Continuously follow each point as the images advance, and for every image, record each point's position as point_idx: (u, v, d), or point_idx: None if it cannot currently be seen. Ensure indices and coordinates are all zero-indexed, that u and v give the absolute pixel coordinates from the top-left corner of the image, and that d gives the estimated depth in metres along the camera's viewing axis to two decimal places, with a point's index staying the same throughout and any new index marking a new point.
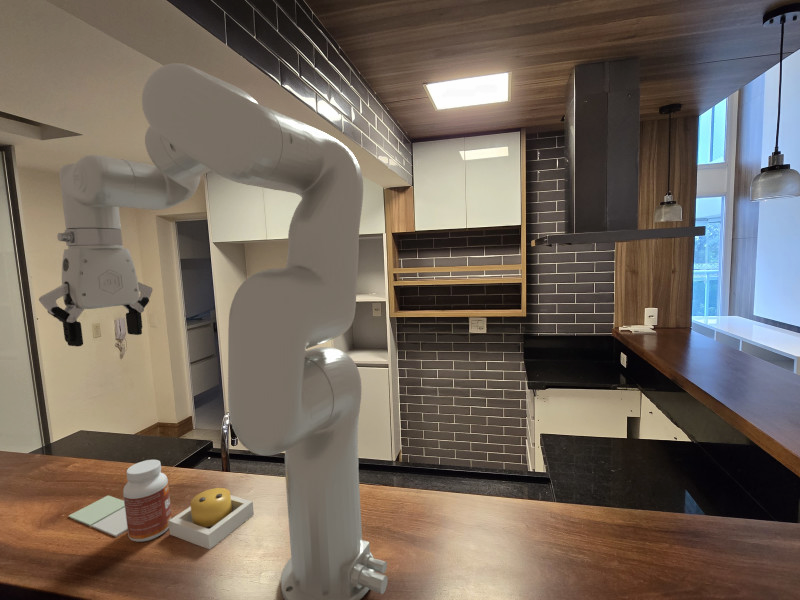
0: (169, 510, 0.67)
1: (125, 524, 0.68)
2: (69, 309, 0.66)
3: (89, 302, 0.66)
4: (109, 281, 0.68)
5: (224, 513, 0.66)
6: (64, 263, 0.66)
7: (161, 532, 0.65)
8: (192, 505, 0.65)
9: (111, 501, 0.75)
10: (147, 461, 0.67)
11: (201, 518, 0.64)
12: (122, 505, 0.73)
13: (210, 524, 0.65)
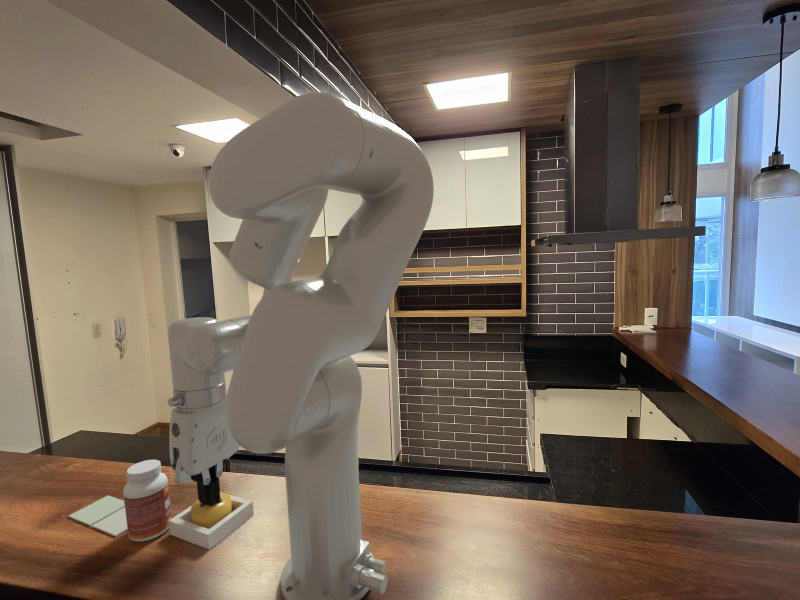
0: (169, 510, 0.67)
1: (125, 524, 0.68)
2: None
3: (199, 468, 0.62)
4: (215, 439, 0.65)
5: None
6: (172, 426, 0.62)
7: (161, 532, 0.65)
8: (193, 510, 0.65)
9: (111, 501, 0.75)
10: (148, 461, 0.67)
11: (202, 523, 0.64)
12: (122, 505, 0.73)
13: None
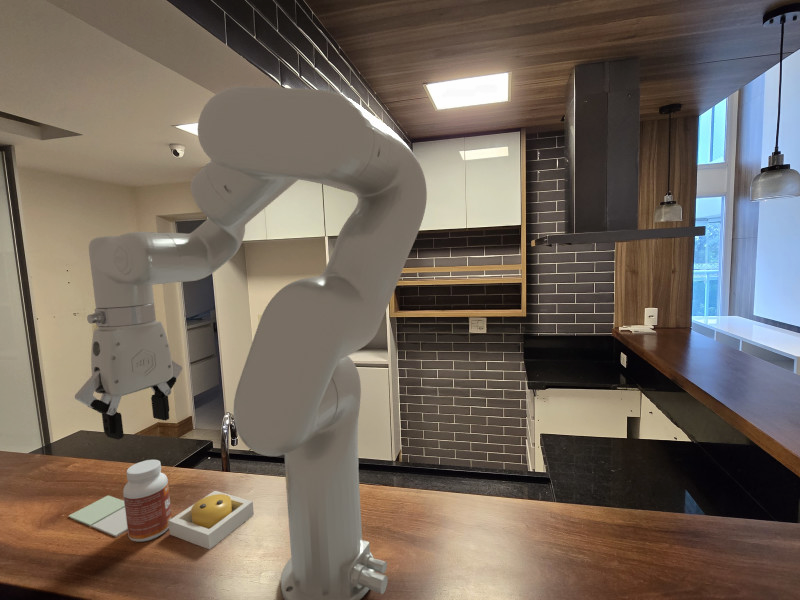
0: (169, 510, 0.67)
1: (125, 524, 0.68)
2: (105, 398, 0.61)
3: (122, 389, 0.60)
4: (142, 363, 0.62)
5: None
6: (94, 346, 0.60)
7: (161, 532, 0.65)
8: (193, 512, 0.65)
9: (111, 501, 0.75)
10: (147, 461, 0.67)
11: (202, 524, 0.64)
12: (122, 505, 0.73)
13: None
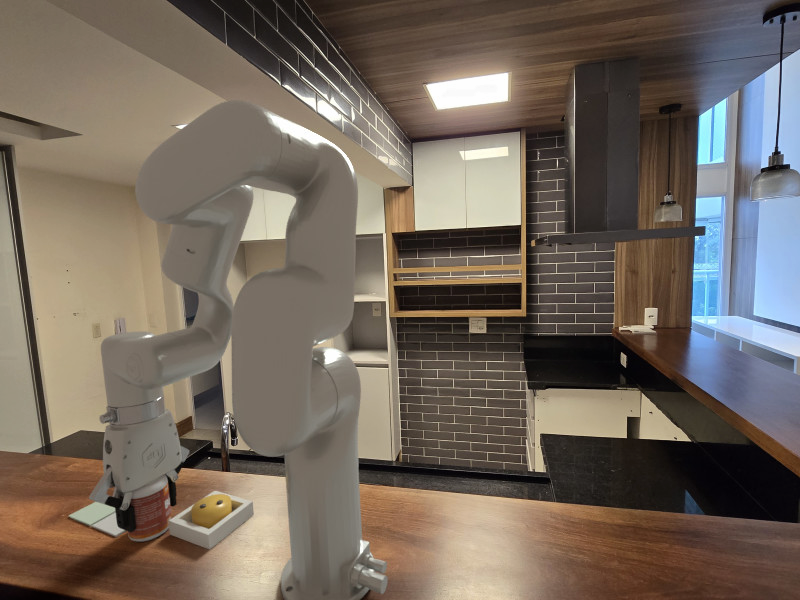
0: (169, 510, 0.67)
1: None
2: (118, 491, 0.63)
3: (133, 485, 0.61)
4: (152, 455, 0.64)
5: None
6: (106, 443, 0.61)
7: (161, 532, 0.65)
8: (193, 512, 0.65)
9: None
10: None
11: (202, 524, 0.64)
12: None
13: None
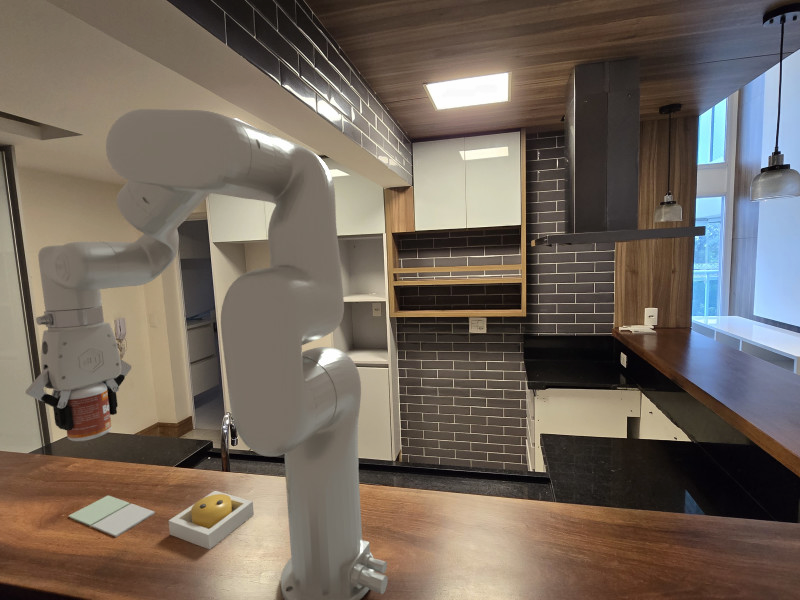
0: (108, 416, 0.71)
1: (125, 524, 0.68)
2: (56, 393, 0.67)
3: (69, 384, 0.65)
4: (89, 360, 0.68)
5: None
6: (43, 345, 0.66)
7: (98, 434, 0.69)
8: (193, 512, 0.65)
9: (111, 501, 0.75)
10: None
11: (202, 524, 0.64)
12: (122, 505, 0.73)
13: None
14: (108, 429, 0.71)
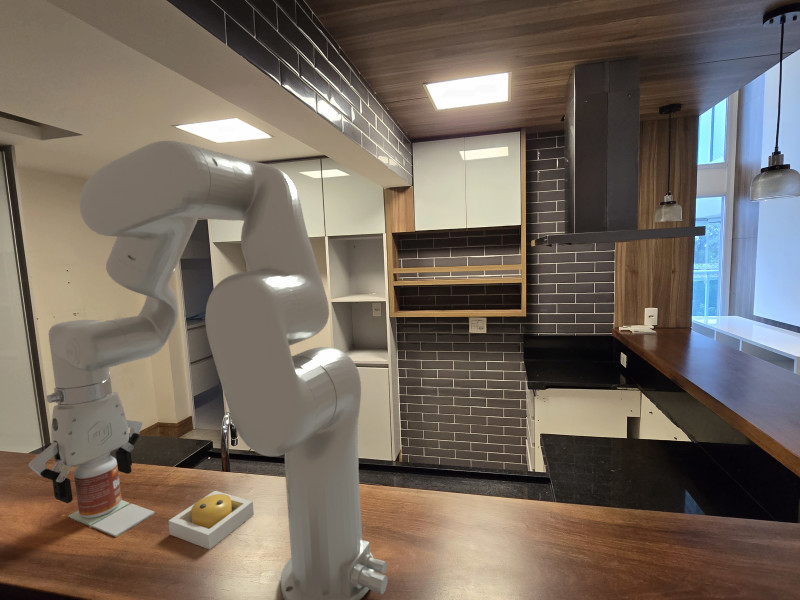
0: (118, 490, 0.73)
1: (125, 524, 0.68)
2: (59, 465, 0.68)
3: (78, 459, 0.67)
4: (98, 433, 0.70)
5: None
6: (53, 421, 0.67)
7: (109, 510, 0.71)
8: (193, 512, 0.65)
9: None
10: None
11: (202, 524, 0.64)
12: (122, 505, 0.73)
13: None
14: (118, 503, 0.73)
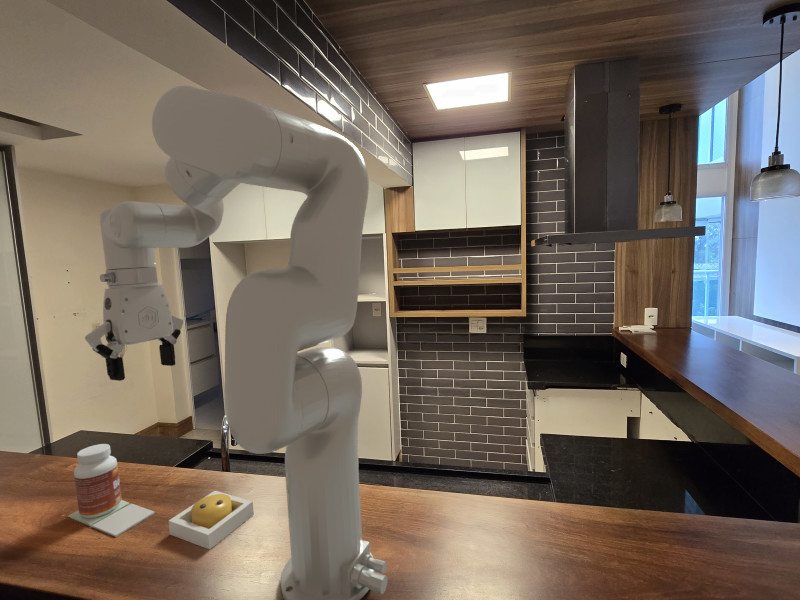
0: (118, 490, 0.73)
1: (125, 524, 0.68)
2: (111, 345, 0.70)
3: (130, 338, 0.70)
4: (147, 317, 0.72)
5: None
6: (106, 302, 0.70)
7: (109, 510, 0.71)
8: (193, 512, 0.65)
9: None
10: (98, 445, 0.73)
11: (202, 524, 0.64)
12: (122, 505, 0.73)
13: None
14: (118, 503, 0.73)
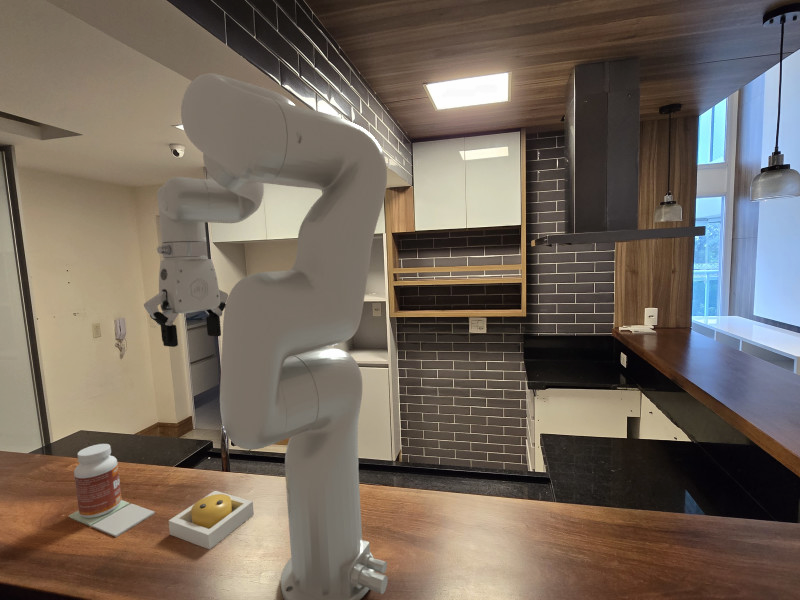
0: (118, 490, 0.73)
1: (125, 524, 0.68)
2: (165, 313, 0.75)
3: (184, 307, 0.74)
4: (198, 289, 0.77)
5: None
6: (161, 273, 0.74)
7: (109, 510, 0.71)
8: (193, 512, 0.65)
9: None
10: (99, 445, 0.73)
11: (202, 524, 0.64)
12: (122, 505, 0.73)
13: None
14: (118, 503, 0.73)
